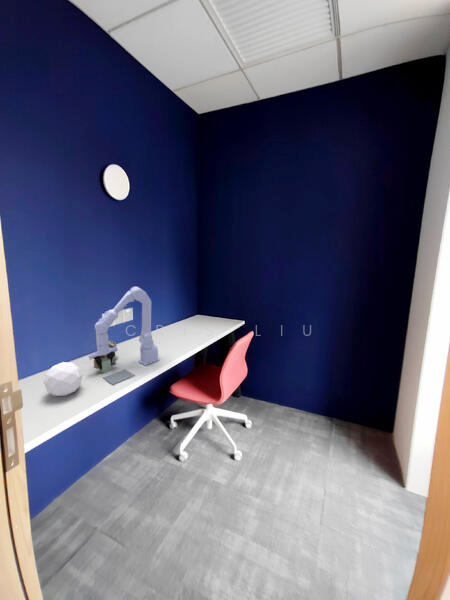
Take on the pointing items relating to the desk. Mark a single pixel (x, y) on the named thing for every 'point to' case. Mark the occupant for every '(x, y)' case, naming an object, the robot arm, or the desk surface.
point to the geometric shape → (63, 379)
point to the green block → (105, 365)
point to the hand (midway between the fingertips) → (105, 367)
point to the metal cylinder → (113, 361)
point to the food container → (111, 345)
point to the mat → (118, 377)
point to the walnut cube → (96, 364)
